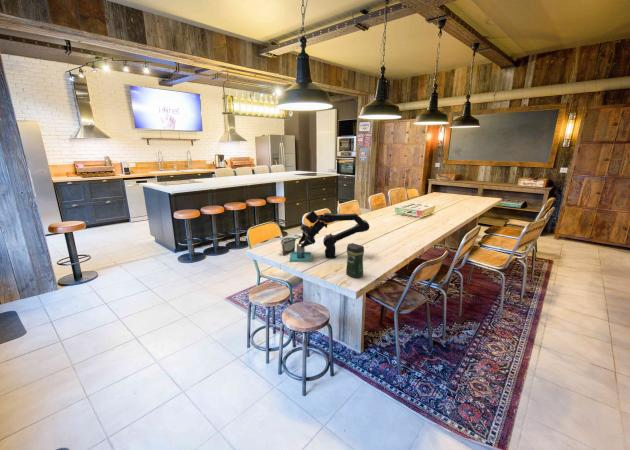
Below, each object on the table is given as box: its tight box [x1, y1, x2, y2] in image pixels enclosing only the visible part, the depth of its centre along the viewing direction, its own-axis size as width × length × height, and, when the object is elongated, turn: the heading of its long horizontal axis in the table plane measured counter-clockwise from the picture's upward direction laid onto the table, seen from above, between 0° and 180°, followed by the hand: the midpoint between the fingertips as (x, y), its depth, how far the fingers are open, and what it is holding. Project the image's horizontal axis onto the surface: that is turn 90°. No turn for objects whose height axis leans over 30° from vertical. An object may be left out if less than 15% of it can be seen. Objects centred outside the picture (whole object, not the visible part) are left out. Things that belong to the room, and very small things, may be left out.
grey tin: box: [296, 242, 306, 259], centre depth 195 cm, size 5×5×9 cm
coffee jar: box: [345, 242, 365, 278], centre depth 168 cm, size 10×8×19 cm
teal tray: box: [289, 251, 312, 263], centre depth 196 cm, size 14×14×2 cm
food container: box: [280, 236, 297, 256], centre depth 204 cm, size 12×6×10 cm, turn 141°
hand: (299, 245), depth 194 cm, fingers open, 9 cm apart
